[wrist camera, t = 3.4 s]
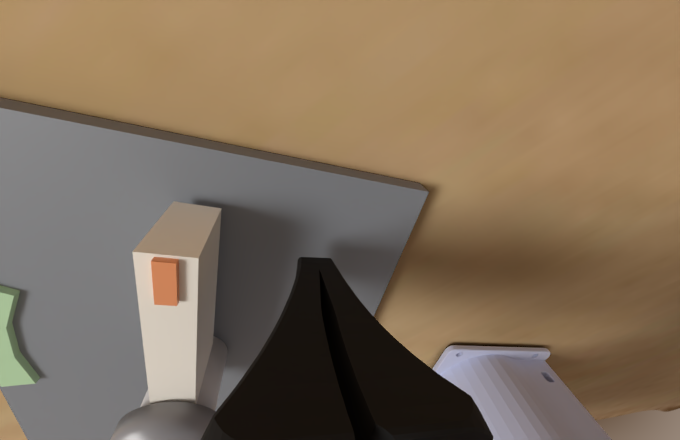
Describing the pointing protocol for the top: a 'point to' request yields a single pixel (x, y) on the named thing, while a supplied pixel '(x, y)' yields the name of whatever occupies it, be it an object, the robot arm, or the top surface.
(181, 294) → the peg key
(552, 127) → the top surface
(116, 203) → the dial board
